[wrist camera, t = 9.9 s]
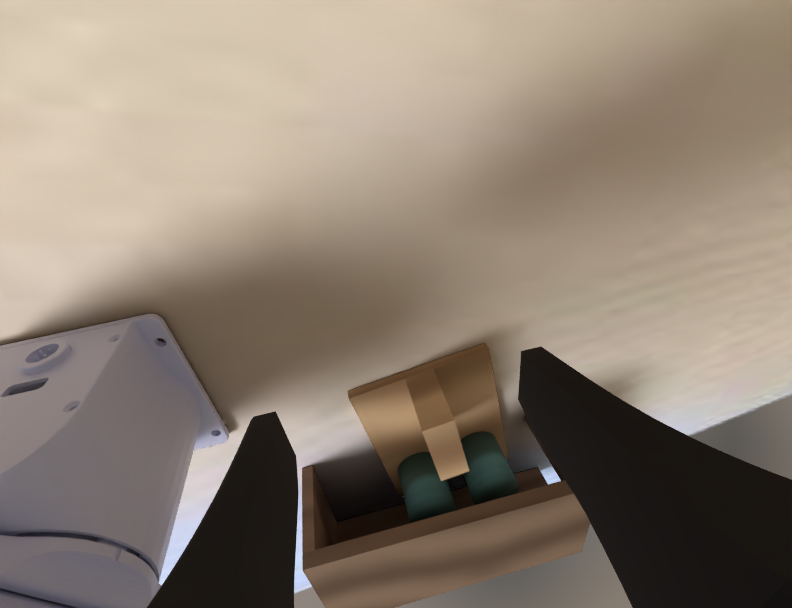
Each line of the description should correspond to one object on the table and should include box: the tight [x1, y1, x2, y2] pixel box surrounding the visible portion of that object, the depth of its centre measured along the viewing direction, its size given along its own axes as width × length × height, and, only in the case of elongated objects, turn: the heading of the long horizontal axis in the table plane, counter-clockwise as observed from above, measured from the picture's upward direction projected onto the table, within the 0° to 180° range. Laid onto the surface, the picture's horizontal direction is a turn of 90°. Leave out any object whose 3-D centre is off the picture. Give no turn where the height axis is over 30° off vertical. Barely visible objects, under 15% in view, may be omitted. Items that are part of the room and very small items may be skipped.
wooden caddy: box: [302, 415, 590, 608], centre depth 28 cm, size 8×18×6 cm, turn 98°
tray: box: [348, 343, 519, 523], centre depth 26 cm, size 12×9×5 cm
